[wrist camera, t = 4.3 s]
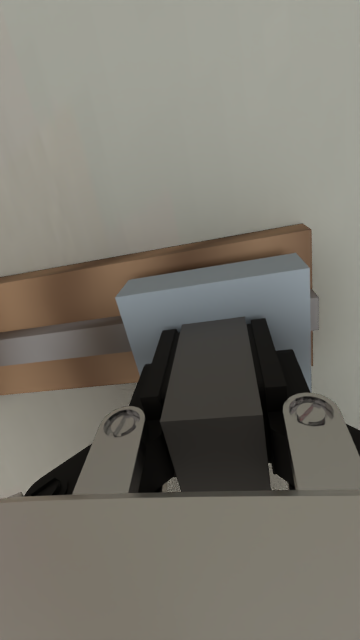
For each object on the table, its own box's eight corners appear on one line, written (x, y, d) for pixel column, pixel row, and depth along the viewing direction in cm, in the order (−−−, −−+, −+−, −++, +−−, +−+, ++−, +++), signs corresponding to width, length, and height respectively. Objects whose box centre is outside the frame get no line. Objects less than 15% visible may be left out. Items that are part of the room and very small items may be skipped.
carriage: (296, 252, 12) (381, 346, 6) (300, 375, 14) (362, 532, 8) (128, 279, 13) (50, 380, 7) (159, 387, 16) (122, 531, 10)
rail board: (302, 216, 14) (362, 253, 8) (305, 350, 17) (350, 444, 11) (-99, 289, 18) (-246, 347, 12) (-38, 385, 21) (-132, 467, 16)
